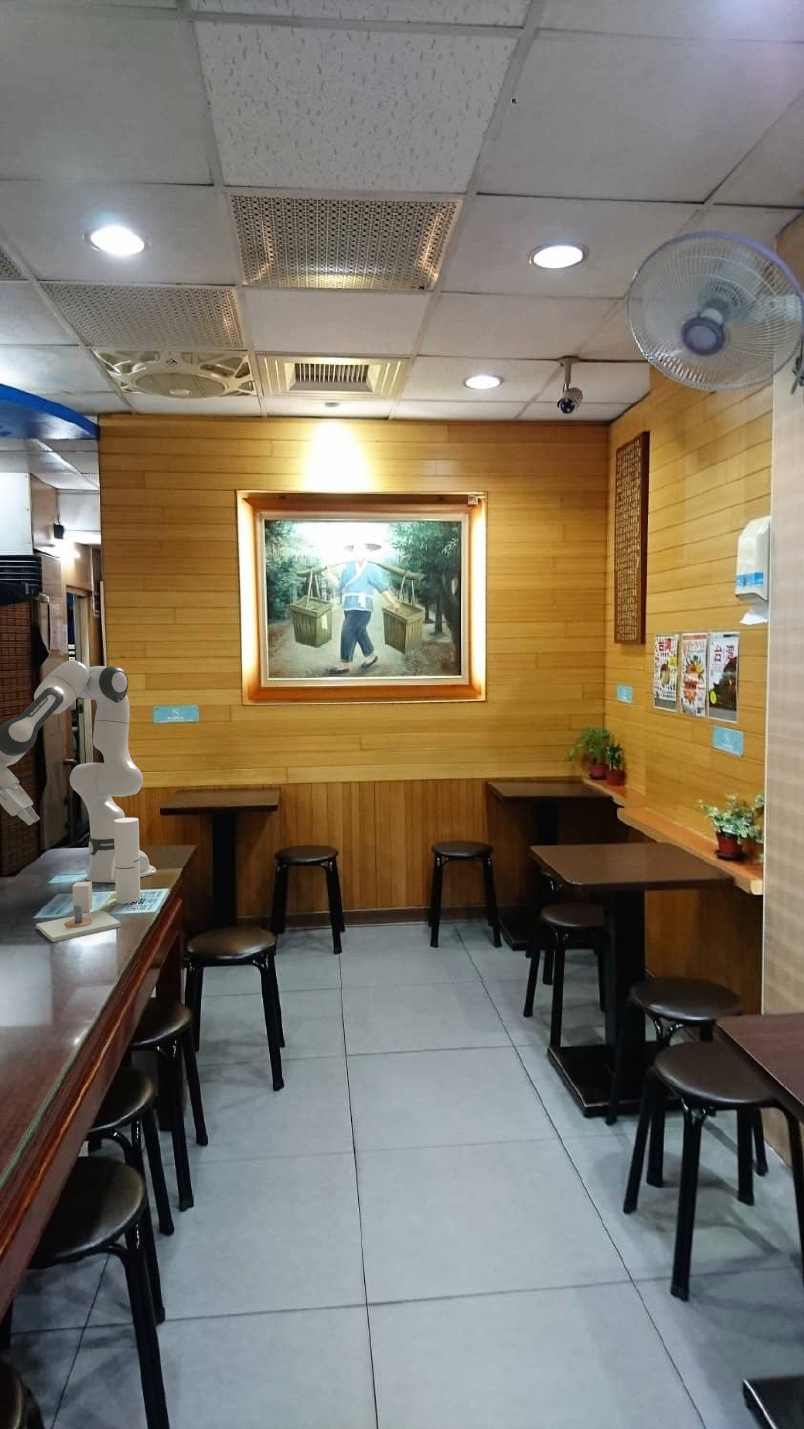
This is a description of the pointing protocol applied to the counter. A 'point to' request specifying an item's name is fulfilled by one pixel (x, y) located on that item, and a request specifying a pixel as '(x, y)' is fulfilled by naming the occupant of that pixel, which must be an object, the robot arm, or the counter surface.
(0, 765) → the robot arm
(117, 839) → the cylindrical container
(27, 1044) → the counter surface
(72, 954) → the counter surface
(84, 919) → the base plate
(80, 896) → the square block
